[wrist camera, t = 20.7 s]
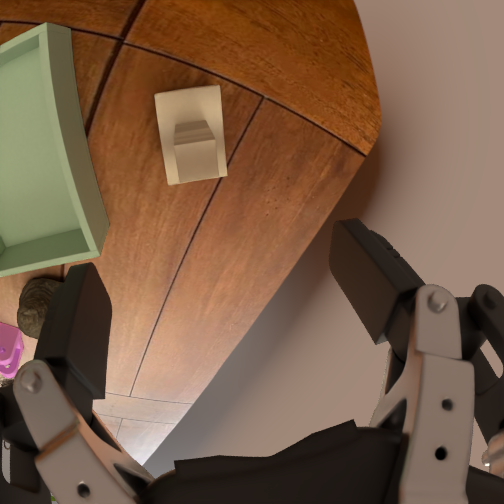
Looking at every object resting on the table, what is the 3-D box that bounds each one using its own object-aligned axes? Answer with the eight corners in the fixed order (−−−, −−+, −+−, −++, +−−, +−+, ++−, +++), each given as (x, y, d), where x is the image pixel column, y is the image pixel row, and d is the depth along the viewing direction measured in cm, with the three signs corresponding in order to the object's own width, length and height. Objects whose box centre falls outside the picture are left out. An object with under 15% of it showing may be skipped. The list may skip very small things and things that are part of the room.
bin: (-43, 88, 14) (-74, 99, 9) (70, 28, 16) (46, 21, 12) (7, 249, 27) (-11, 279, 22) (110, 224, 29) (100, 256, 25)
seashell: (89, 302, 27) (7, 276, 22) (75, 395, 26) (0, 372, 21) (92, 283, 37) (31, 263, 32) (79, 356, 36) (20, 339, 31)
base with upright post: (157, 91, 23) (144, 104, 15) (215, 83, 23) (235, 91, 15) (169, 173, 28) (166, 225, 20) (222, 164, 28) (243, 212, 21)
